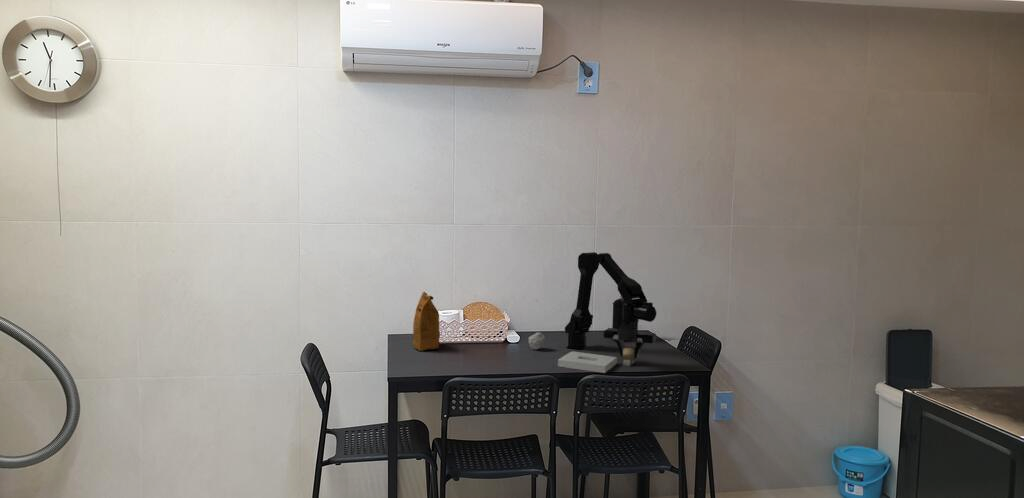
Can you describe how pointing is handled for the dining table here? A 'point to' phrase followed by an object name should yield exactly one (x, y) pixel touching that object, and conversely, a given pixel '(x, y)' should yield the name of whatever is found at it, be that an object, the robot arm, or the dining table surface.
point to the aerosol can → (617, 314)
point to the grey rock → (536, 340)
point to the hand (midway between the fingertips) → (628, 358)
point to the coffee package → (426, 324)
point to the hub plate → (587, 362)
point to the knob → (628, 355)
